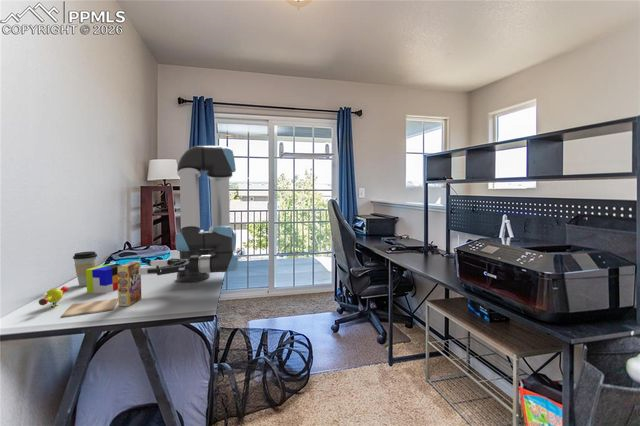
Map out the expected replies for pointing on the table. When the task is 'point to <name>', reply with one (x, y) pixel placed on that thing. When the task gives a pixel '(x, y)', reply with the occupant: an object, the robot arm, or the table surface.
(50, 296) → the toy figure
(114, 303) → the cork mat
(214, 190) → the robot arm
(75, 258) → the coffee cup
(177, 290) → the table surface
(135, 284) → the candy box
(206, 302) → the table surface
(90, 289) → the puzzle toy
